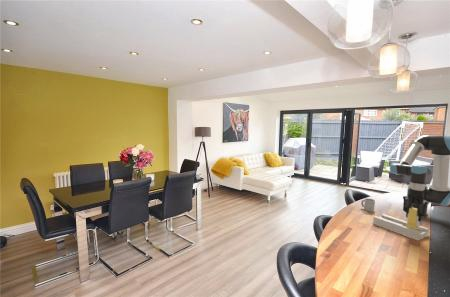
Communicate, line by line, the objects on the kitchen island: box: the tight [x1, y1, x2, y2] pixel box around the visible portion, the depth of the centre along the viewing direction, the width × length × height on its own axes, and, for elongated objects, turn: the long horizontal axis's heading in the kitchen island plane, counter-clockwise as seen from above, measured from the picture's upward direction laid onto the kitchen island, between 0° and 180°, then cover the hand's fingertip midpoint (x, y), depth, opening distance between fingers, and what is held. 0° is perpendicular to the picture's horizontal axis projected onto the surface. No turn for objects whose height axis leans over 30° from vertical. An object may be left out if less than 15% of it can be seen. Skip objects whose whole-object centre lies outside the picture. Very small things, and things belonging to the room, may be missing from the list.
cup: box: [360, 198, 376, 213], centre depth 190 cm, size 7×10×9 cm
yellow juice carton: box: [406, 207, 420, 229], centre depth 146 cm, size 7×4×12 cm, turn 117°
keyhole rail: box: [372, 213, 430, 241], centre depth 153 cm, size 14×27×5 cm, turn 27°
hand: (413, 224), depth 146 cm, fingers closed on yellow juice carton, 4 cm apart
